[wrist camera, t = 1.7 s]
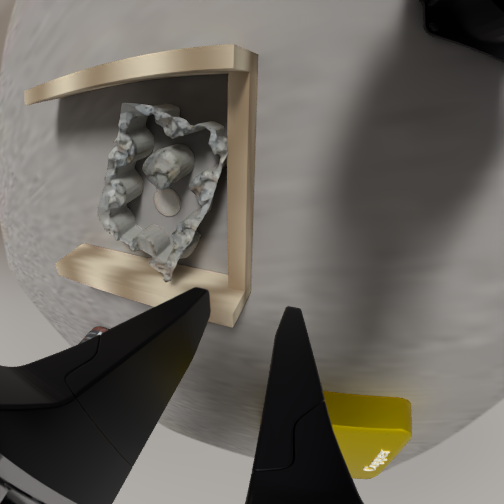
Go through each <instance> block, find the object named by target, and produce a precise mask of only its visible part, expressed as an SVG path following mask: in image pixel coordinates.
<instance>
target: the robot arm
mask: <svg viewBox="0 0 504 504" xmlns="http://www.w3.org/2000/svg"><path fill="white" fill-rule="evenodd" d="M420 2H423V19H424V29H425V31H426V32H427V33H428V34H429V35H431V36H434V37H438V38H441V39H444V40H447V41H450V42H453V43H456V44H459V45H462V46H465V47H468V48H470V49H473V50H476V51H478V52H481V53H483V54H486V55H488V56H490V57H493V58H495V59H497V60H499V61H502V62H504V0H420ZM430 24H432V25H434V26H435V27H436V31H433V30H431V28H430V26H429V25H430ZM210 313H211V307H210V294H209V291H208V290H207V289H204V288H200V287H194V288H192V289H190V290H188V291H186V292H184V293H182V294H180V295H178V296H176V297H174V298H172V299H170V300H168V301H166V302H164V303H162V304H160V305H158V306H156V307H154V308H152V309H150V310H147V311H145V312H143V313H141V314H139V315H137V316H135V317H133V318H131V319H129V320H127V321H125V322H123V323H121V324H119V325H117V326H115V327H113V328H111V329H109V330H107V331H105V332H103V333H101V335H97V336H95V337H93V338H91V339H89V340H87V341H84V342H82V343H80V344H78V345H76V346H73V347H71V348H69V349H66V350H64V351H61V352H59V353H56V354H53V355H51V356H48V357H45V358H43V359H40V360H38V361H35V362H32V363H30V364H26V365H23V366H19V367H6V366H0V504H112V503H113V501H114V500H115V498H116V496H117V494H118V492H119V491H120V489H121V487H122V485H123V483H124V482H125V480H126V478H127V476H128V474H129V473H130V471H131V469H132V466H133V465H134V463H135V462H136V460H137V458H138V456H139V455H140V453H141V451H142V449H143V447H144V446H145V444H146V442H147V440H148V438H149V436H150V435H151V433H152V431H153V429H154V428H155V426H156V424H157V422H158V420H159V419H160V417H161V415H162V413H163V411H164V410H165V408H166V406H167V404H168V402H169V401H170V399H171V397H172V395H173V393H174V392H175V390H176V388H177V386H178V384H179V383H180V381H181V379H182V377H183V375H184V374H185V372H186V370H187V368H188V367H189V365H190V363H191V361H192V359H193V357H194V355H195V352H196V350H197V347H198V345H199V342H200V340H201V337H202V335H203V332H204V330H205V327H206V325H207V323H208V320H209V318H210ZM324 400H325V398H324V394H323V390H322V386H321V382H320V378H319V375H318V371H317V367H316V363H315V359H314V355H313V352H312V348H311V344H310V340H309V337H308V333H307V329H306V326H305V322H304V318H303V315H302V311H301V309H300V308H296V307H290V306H287V307H286V309H285V311H284V314H283V316H282V319H281V321H280V324H279V327H278V329H277V332H276V335H275V339H274V345H273V352H272V359H271V365H270V371H269V378H268V384H267V390H266V396H265V402H264V408H263V414H262V419H261V425H260V431H259V436H258V442H257V447H256V453H255V458H254V463H253V469H252V474H251V479H250V484H249V488H248V493H247V497H246V502H245V504H364V503H363V502H362V500H361V498H360V496H359V494H358V492H357V489H356V487H355V484H354V482H353V479H352V477H351V474H350V472H349V470H348V467H347V465H346V462H345V460H344V457H343V455H342V452H341V450H340V447H339V445H338V442H337V439H336V436H335V434H334V431H333V428H332V424H331V421H330V417H329V414H328V410H327V406H326V402H325V401H324Z"/></svg>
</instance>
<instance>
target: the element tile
mask: <svg viewBox="0 0 504 504" xmlns="http://www.w3.org/2000/svg"><path fill="white" fill-rule="evenodd" d="M323 394H324V398H325V400H324V401H325V402H326V406H327V410H328V414H329V417H330V421H331V424H332V428H333V431H334V434H335V436H336V439H337V442H338V445H339V447H340V450H341V452H342V455H343V457H344V460H345V462H346V465H347V467H348V470H349V472H350V474H351V477H352V478H355V479H356V478H357V479H370V478H373V477H375V476H377V475H378V474H380V473H381V472H382V471H383V470H384V469H385V467H386V466H387V465H388V464H389V463H390V462H391V461H392V460H393V459H394V458H395V457H396V455H397V454H398V453H399V452H400V451H401V450H402V449H403V447H404V446H405V445H406V444H407V443H408V441H409V440H410V439H411V436H412V417H411V403H410V402H409V401H408V400H406V399H403V398H398V397H382V396H368V395H356V394H346V393H337V392H329V391H323ZM260 425H261V422H260Z"/></svg>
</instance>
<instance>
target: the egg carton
mask: <svg viewBox="0 0 504 504" xmlns="http://www.w3.org/2000/svg"><path fill="white" fill-rule="evenodd" d="M148 115H154V116H155V122H156V123H157V124H158V125H160V126H162V127H163V129H164V132H165V134H166V135H167V136H168V137H171V138H172V139H174V138H176V137H179V136H184V135H187V134H190V133H194V132H197V131H200V130H203V129H204V128H207V129H208V130H210V132H211V135H210V139H209V145H210V147H211V149H212V151H213V154H218V155H219V156H220V163H219V165H215V166H213V167H211V168H210V169H208V170H206V171H204V172H202V173H200V174H199V175H198V176H197V177H196V178H195V179H194V180H193V181H192V182H191V183H190V184H189V190H190V191H192V192H193V193H194V194H195V196H196V199H197V202H198V203H199V204H200V205H201V206H202V208H200V209H198V210H196V211H195V212H193V213H192V214H191V215H190V216H188V217H187V218H186V219H185V220H184V221H182V222H180V223H179V224H178V225H177V229H176V231H175V232H173V233H172V237H173V239H174V241H173V243H174V247H173V246H171V245H170V238H169V235H168V233H167V232H166V230H165V229H163V228H162V227H161V226H158V225H150V226H149V227H147V228H146V229H145V230H143V229H141V228H140V227H138V226H137V225H136V220H135V216H134V214H133V213H132V211H131V210H130V209H128V207H127V203H128V202H130V201H131V200H133V199H135V198H136V197H138V196H139V195H140V194H141V193H142V191H143V180H142V178H141V176H140V174H139V173H138V172H137V171H136V170H135V163H136V161H137V160H140V159H142V158H145V157H147V156H149V155H150V154H151V152H152V150H153V148H154V138H153V135H152V134H151V132H150V131H149V130H148V129H147V128H146V127H145V124H146V121H147V117H148ZM118 126H119V132H118V135H117V138H116V139H115V140H114V144H115V146H114V149H113V150H112V151H111V153H110V154H109V156H108V168H107V172H106V176H105V186H104V189H103V192H102V196H101V199H100V203H99V206H98V217H99V220H100V222H101V223H102V225H103V227H104V229H105V230H106V231H107V232H109V233H110V234H112V235H113V236H114V238H115V239H116V240H121V241H123V242H125V243H126V244H128V245H129V246H130V248H129V249H130V250H132V251H138V250H143V251H144V252H146V253H148V254H149V255H151V256H152V257H151V261H150V262H149V264H150V265H151V266H152V267H153V268H154V269H155V270H157V271H158V272H160V273H162V274H163V275H164V279H163V280H164V281H165V282H169V281H171V280H170V278H171V277H172V272H173V270H174V268H175V267H176V265H177V261H178V260H179V259H180V258H187V257H188V256H189V255H191V253H192V252H193V251H194V249H195V247H196V246H197V244H198V243H199V240H200V237H201V235H200V234H199V233H198V232H197V231H196V229H197V227H198V225H199V224H200V222H201V221H202V219H203V217H204V216H205V214H206V213H208V211H210V209H211V208H212V204H213V198H214V191H215V188H216V185H217V182H218V179H219V176H220V173H221V168H223V167H224V166H227V154H228V150H227V143H226V140H227V137H224V126H223V125H221V124H219V123H216V122H214V121H210V122H205V123H200V124H197V125H195V126H192V125H189V123H188V122H187V120H185V119H183V118H180V115H179V107H177V106H175V105H172V104H170V103H166V104H160V105H144V104H136V103H123V104H122V105H121V113H120V119H119V124H118ZM194 162H195V159H194V155H193V153H192V151H191V150H190V149H189V148H188V147H187V146H186V145H183V144H174V145H171V146H168V147H165V148H162V149H159V150H156V151H155V152H154V153H153V154H151V155H150V156H149V157H148V158H147V159H146V161H145V162H144V164H143V169H142V170H143V172H144V173H145V174H146V176H147V178H148V180H149V181H150V182H151V183H152V184H153V185H155V186H156V188H157V189H158V191H157V192H156V194H155V195H154V204H155V207H156V208H157V210H158V211H159V212H160V213H161V214H163V215H165V216H174V215H176V214H177V213H178V212H179V210H180V206H181V205H180V204H181V202H180V198H179V196H178V194H177V193H176V192H175V191H174V190H173V189H171V188H168V187H169V186H170V185H171V184H173V183H174V182H176V181H178V180H179V179H181V178H183V177H184V176H186V175H188V174H189V173H190V172H191V171H192V169H193V167H194Z"/></svg>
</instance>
